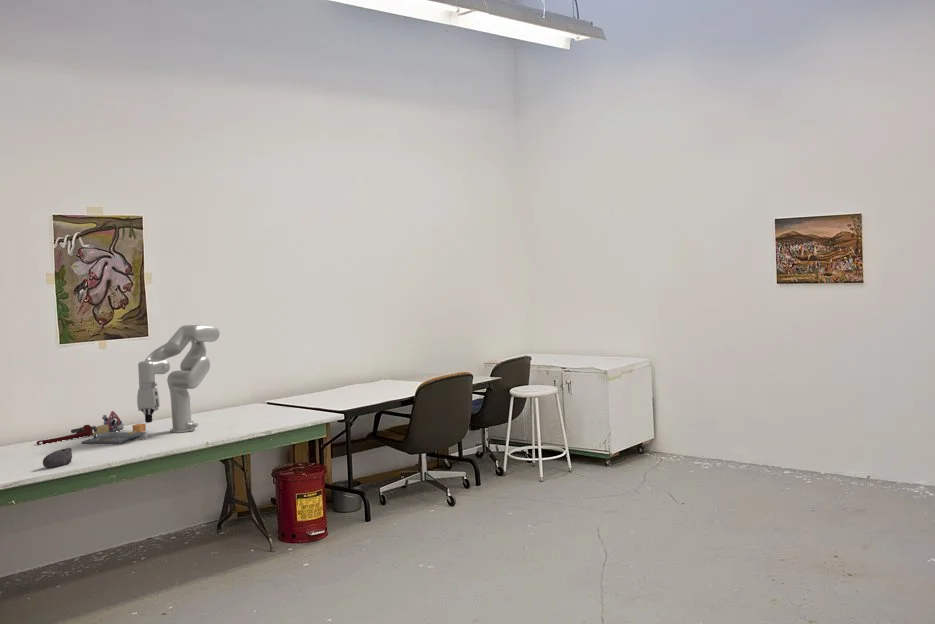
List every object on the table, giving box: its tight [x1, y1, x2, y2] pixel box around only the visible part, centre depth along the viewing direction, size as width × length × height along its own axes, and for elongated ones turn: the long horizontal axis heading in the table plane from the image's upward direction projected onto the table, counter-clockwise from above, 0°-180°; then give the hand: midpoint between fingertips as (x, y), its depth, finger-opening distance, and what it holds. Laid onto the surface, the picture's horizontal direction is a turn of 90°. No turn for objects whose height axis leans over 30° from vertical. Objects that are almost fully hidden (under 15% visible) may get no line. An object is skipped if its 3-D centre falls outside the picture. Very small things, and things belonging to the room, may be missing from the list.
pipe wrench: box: [36, 424, 97, 446], centre depth 444 cm, size 7×2×30 cm
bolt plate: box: [80, 424, 147, 445], centre depth 433 cm, size 27×16×7 cm, turn 76°
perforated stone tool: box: [42, 447, 73, 469], centre depth 379 cm, size 15×5×7 cm, turn 152°
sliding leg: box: [128, 423, 147, 438], centre depth 432 cm, size 4×11×5 cm, turn 167°
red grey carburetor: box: [101, 410, 124, 432], centre depth 463 cm, size 11×11×12 cm
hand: (148, 422), depth 433 cm, fingers closed
